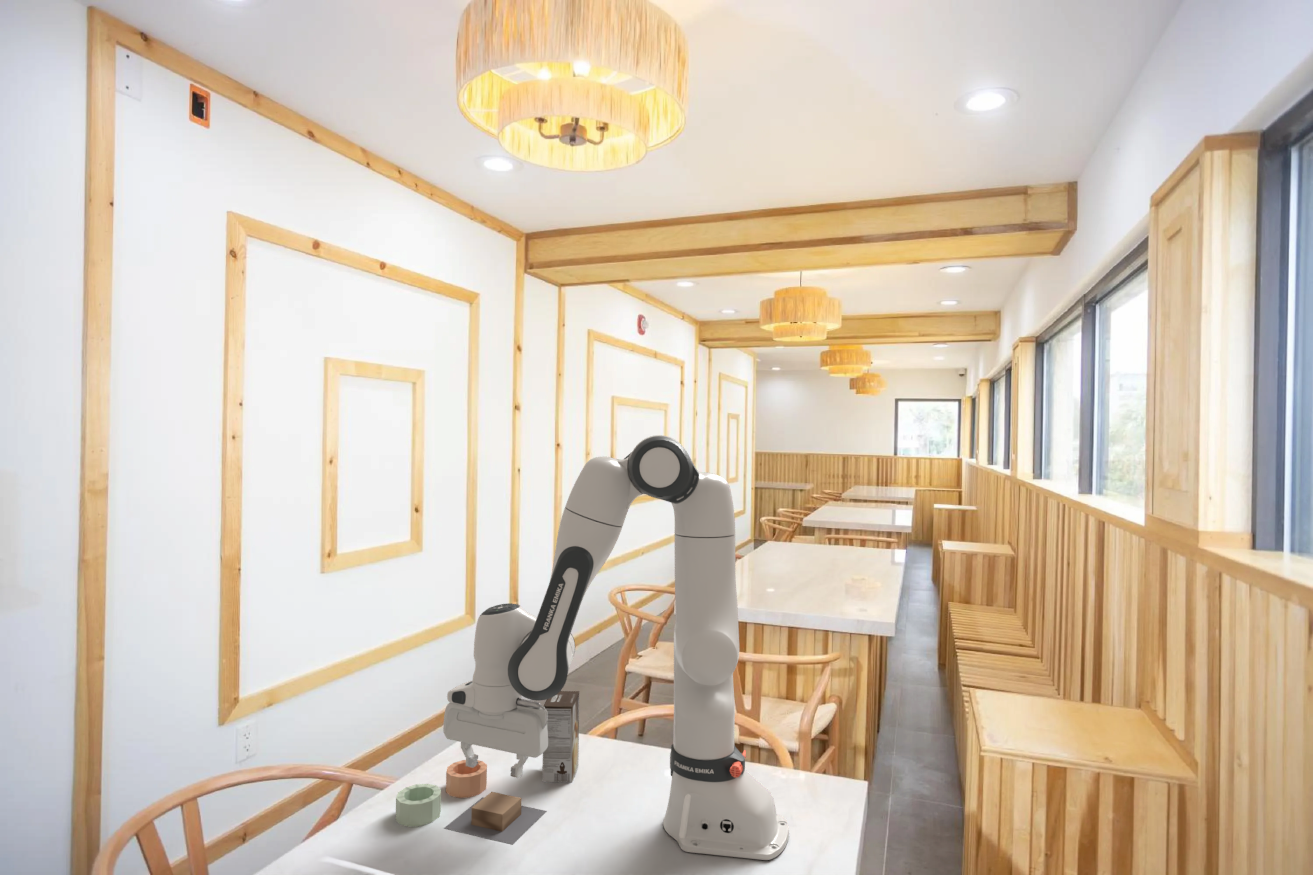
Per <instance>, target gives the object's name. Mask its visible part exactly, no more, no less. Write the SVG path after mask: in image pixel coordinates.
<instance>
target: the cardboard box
mask: <svg viewBox="0 0 1313 875" xmlns="http://www.w3.org/2000/svg"><path fill="white" fill-rule="evenodd" d="M483 797H484V796H483ZM521 806H522V797H519V796H513V795H509V794H504V793H500V792H494V791H491V792H489V793H488V794H486V795H485V797H484V798H483V799H482V800H481V801H479V802H478V803H477V804H476V805H474V806H473V807H472V813H471V825H475V826H480V827H484V828H488V829H493V830H497V831H501V832H503V831H504V830H505V829H506V828H507V827H508V826H509V825H510V824H511V823H512V822H513V821H515V820H516V819H517V818H518V817H519V816H520V815H521Z"/></svg>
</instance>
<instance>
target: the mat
mask: <svg viewBox="0 0 1313 875" xmlns="http://www.w3.org/2000/svg"><path fill="white" fill-rule="evenodd" d="M483 798H484V796H483V797H481V798H480V799H478V800H477V801H475V802H474V803H473V804H472V805H471V806H469V807H468V808H467V809H466V810H465V811H463V812H462V813H460V815H458V816H457V817H456V818H454V819H453V820H452V821H451V822H449V824H447V825H446V826H444V827H443V829H445V830H449V831H453V832H458V833H462V834H466V835H470V836H474V837H478V838H482V839H483V838H484V839H487V840H491V841H495V842H499V843H503V844H509V845H514V844H515V843H516V842H517V841H519V839H520V838H521V837H522V836H523V835H524V834H525V833H527V831H529V830H530V829H531V828H532V827H533V826H534V825H535V824H536V823H537V822H538V821H539V820H540V819H541V818H542V817H543V816H544V815H545V814H546V813H547V812H548V811H547V810H544V809H541V808H540V809H539V808H535V807H530V806H525V805H521V815H520V816H519V817H518V818H517V819H516V820H515V821H513V822H512V823H511V824H510V825H509V826H508V827H507V828H506V829H505V830H504V831H503V832H501V831H497V830H493V829H488V828H484V827H480V826H475V825H471V813H472V807H473V806H474V805H476V804H477V803H478V802H479V801H481V800H482V799H483Z"/></svg>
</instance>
